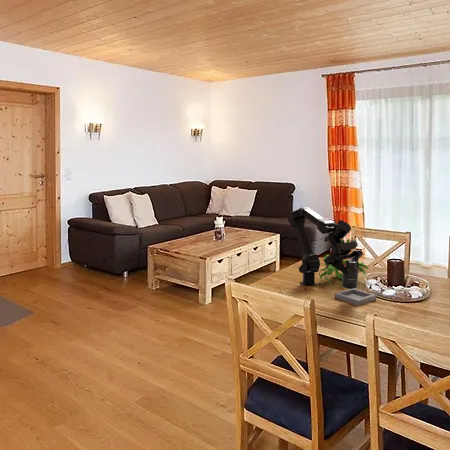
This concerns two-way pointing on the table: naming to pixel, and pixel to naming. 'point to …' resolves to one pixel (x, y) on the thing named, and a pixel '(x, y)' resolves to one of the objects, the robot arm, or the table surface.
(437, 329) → the table surface
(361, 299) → the tray
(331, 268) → the decorative plant
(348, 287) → the supplement bottle
